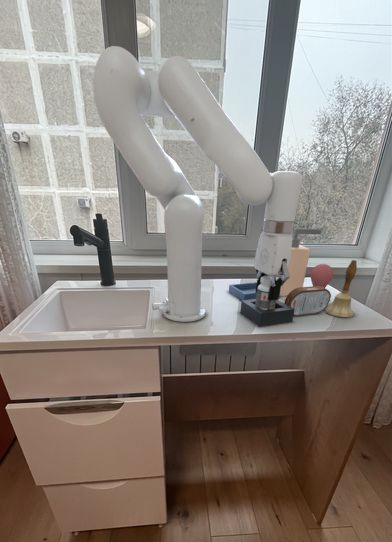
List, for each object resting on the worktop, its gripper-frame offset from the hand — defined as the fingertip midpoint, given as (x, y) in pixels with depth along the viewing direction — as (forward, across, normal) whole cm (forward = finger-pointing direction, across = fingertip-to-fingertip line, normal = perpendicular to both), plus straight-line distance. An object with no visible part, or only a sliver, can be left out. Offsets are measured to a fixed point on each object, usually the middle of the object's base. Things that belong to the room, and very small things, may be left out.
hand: (266, 295), depth 82 cm
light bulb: (+7, -9, +28) cm, 30 cm away
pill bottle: (+5, 0, 0) cm, 5 cm away
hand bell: (+6, +4, +25) cm, 26 cm away
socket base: (+7, 0, +1) cm, 7 cm away
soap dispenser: (+7, -18, +24) cm, 30 cm away
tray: (+7, -20, +9) cm, 23 cm away
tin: (+7, +2, +14) cm, 16 cm away
